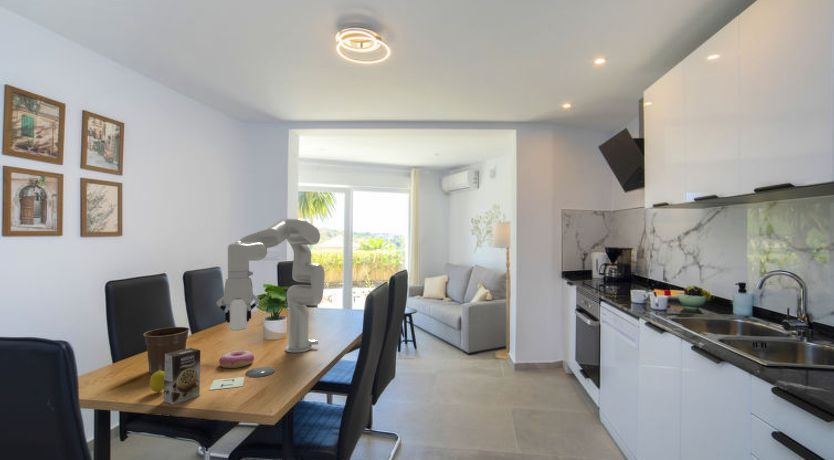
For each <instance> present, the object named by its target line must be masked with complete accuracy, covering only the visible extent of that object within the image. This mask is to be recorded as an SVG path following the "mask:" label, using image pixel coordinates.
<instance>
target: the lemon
mask: <svg viewBox="0 0 834 460" xmlns="http://www.w3.org/2000/svg"><path fill="white" fill-rule="evenodd" d="M149 388H150V389H151V391H153V392H155V393H157V394H160V393H161V392H162V391H164V371H161V370H158V371H157V372H155V373H154V374H151V376H150V379H149Z"/></svg>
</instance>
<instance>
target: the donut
mask: <svg viewBox="0 0 834 460" xmlns="http://www.w3.org/2000/svg"><path fill="white" fill-rule="evenodd" d="M254 359H255V356H254V353H252V352H251V351H249V350H233V351H229V352H226V353H224V354H223V355H221V356H220V358H219V359H218V363H219V365H220V366H221V367H223V368H224V369H225V368H226V369H236V368H243V367H246V366H248V365H250V364H252V363H253V361H254Z"/></svg>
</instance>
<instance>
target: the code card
mask: <svg viewBox="0 0 834 460" xmlns="http://www.w3.org/2000/svg"><path fill="white" fill-rule="evenodd" d="M245 377H246V376H240V377H239V376H238V377H229V378H222V379H214V380H213V381H212V383H211V385H210V386H209V389H208V391H215V390H224V389H233V388H241V387H243V385H244V382H245V379H246V378H245Z"/></svg>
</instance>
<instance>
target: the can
mask: <svg viewBox="0 0 834 460" xmlns="http://www.w3.org/2000/svg"><path fill="white" fill-rule="evenodd" d="M229 311H230V322H229V329H230V330H231V331H243V330H246V329H247V328H249V321H248V322H247V311H248V309H247V304H245V302H244V301H243V298H242V299H234V300H233V301H232V302H231V305H230V308H229Z"/></svg>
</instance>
